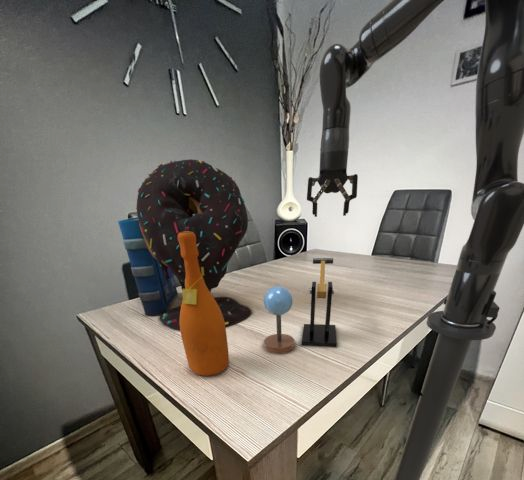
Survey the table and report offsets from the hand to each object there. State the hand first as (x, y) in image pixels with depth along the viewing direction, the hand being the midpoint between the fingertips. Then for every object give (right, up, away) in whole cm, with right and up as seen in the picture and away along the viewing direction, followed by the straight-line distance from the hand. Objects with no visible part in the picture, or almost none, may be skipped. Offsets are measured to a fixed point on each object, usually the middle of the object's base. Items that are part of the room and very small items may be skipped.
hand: (330, 216), depth 83 cm
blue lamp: (-16, -40, -11) cm, 44 cm away
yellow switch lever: (-5, -22, -10) cm, 25 cm away
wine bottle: (-33, -45, -18) cm, 59 cm away
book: (-59, -23, +22) cm, 67 cm away
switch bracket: (-5, -37, -7) cm, 38 cm away
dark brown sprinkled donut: (-40, -28, +13) cm, 50 cm away
